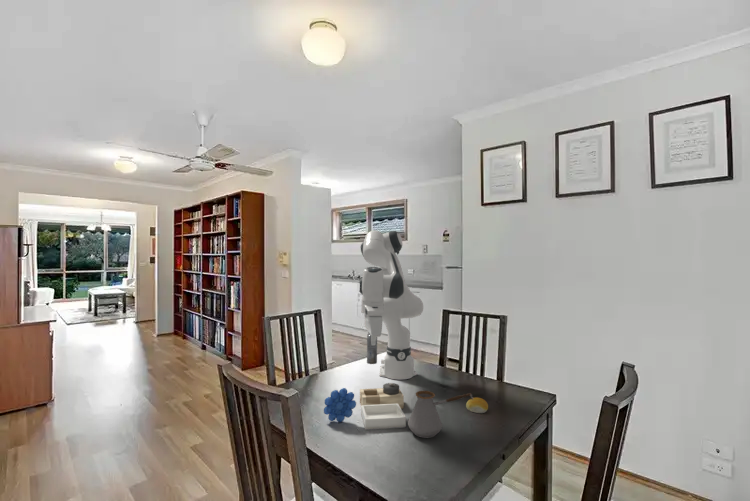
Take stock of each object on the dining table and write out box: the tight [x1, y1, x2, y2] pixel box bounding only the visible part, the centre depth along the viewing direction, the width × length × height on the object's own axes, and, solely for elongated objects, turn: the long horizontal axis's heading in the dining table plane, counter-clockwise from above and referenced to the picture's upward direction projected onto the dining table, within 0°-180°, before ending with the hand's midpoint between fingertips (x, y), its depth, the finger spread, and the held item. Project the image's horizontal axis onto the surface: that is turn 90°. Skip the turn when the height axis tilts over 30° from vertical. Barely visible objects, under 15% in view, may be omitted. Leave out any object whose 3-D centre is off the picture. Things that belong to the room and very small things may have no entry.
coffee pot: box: [407, 390, 474, 439], centre depth 123 cm, size 21×12×15 cm, turn 72°
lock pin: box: [366, 333, 378, 365], centre depth 147 cm, size 4×4×11 cm
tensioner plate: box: [359, 382, 405, 410], centre depth 147 cm, size 9×16×8 cm, turn 99°
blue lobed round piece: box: [323, 387, 357, 423], centre depth 133 cm, size 12×7×12 cm, turn 86°
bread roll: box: [465, 396, 489, 414], centre depth 145 cm, size 8×9×4 cm
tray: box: [360, 404, 407, 431], centre depth 133 cm, size 12×14×4 cm
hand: (372, 343), depth 147 cm, fingers closed on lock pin, 4 cm apart
